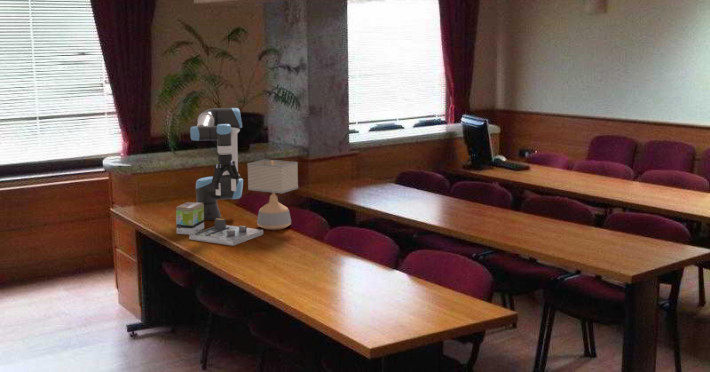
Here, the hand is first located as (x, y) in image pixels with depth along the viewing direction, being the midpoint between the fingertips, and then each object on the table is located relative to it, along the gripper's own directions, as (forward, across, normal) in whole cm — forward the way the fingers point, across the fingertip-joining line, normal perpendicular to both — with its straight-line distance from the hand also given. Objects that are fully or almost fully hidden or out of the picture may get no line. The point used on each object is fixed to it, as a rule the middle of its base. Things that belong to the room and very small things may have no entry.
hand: (226, 193), depth 422 cm
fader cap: (+18, +6, 0) cm, 19 cm away
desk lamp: (+21, -18, +18) cm, 33 cm away
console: (+21, +11, +8) cm, 25 cm away
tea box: (+21, +10, -17) cm, 29 cm away
